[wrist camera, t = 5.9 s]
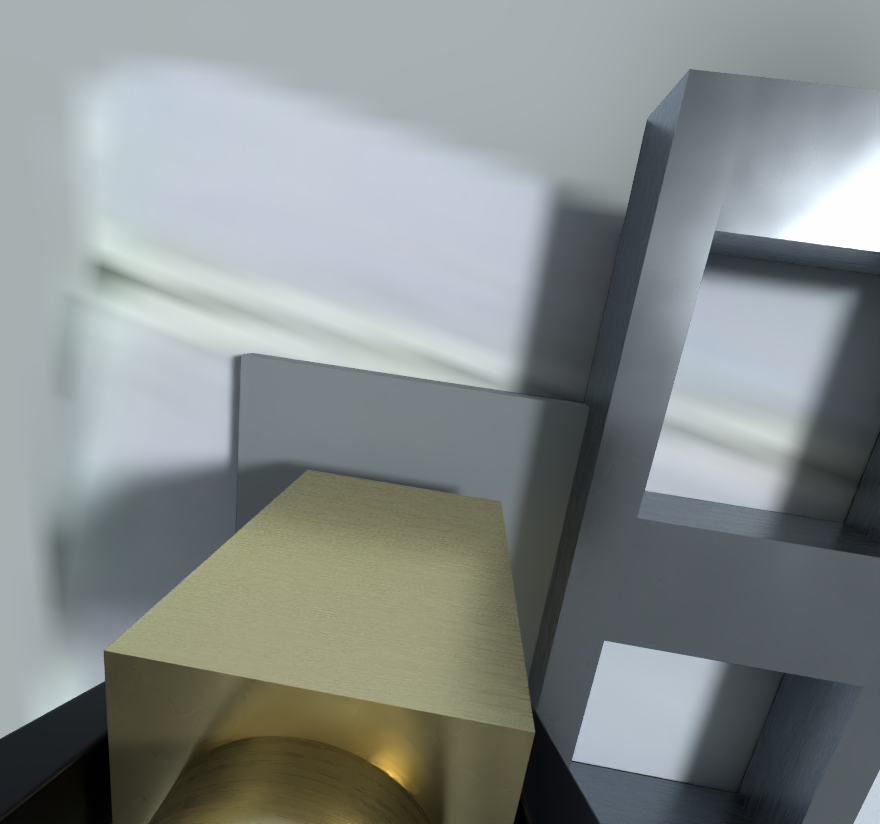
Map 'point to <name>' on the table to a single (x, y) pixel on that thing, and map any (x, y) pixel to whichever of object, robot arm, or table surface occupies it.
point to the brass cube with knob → (329, 669)
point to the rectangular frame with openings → (715, 524)
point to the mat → (416, 451)
